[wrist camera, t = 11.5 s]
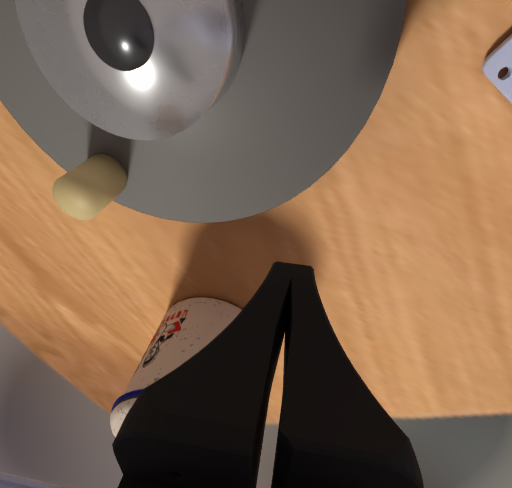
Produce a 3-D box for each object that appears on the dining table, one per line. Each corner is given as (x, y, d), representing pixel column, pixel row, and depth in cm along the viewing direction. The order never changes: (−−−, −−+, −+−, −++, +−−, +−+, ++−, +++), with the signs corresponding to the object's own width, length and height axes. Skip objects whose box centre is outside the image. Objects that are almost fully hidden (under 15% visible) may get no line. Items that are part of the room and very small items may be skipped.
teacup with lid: (174, 275, 27) (88, 427, 17) (284, 319, 27) (260, 490, 18) (148, 360, 34) (77, 501, 24) (236, 394, 34) (200, 544, 25)
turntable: (456, 115, 17) (496, 152, 13) (150, 246, 25) (115, 294, 21) (251, -667, 8) (175, -1300, 4) (-114, -79, 16) (-259, -104, 12)
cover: (277, 70, 15) (267, 85, 13) (142, 146, 18) (112, 170, 16) (172, -165, 12) (128, -208, 9) (27, -21, 15) (-35, -24, 12)
